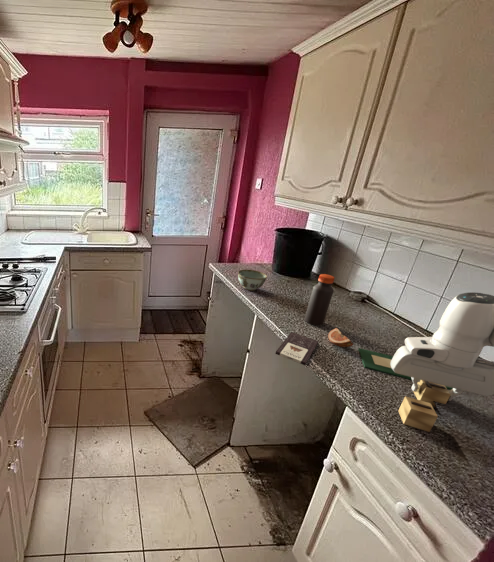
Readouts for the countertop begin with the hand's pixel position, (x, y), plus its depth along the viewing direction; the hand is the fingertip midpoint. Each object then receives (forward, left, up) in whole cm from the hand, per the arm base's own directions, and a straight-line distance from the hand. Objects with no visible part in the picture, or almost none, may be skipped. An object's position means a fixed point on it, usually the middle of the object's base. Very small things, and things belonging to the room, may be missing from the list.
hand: (430, 394), depth 85 cm
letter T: (0, 0, -2) cm, 2 cm away
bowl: (+53, -60, -2) cm, 80 cm away
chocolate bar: (+32, -10, -2) cm, 34 cm away
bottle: (+26, -36, -2) cm, 44 cm away
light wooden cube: (+6, +12, -2) cm, 14 cm away
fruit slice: (+19, -20, -2) cm, 28 cm away
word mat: (+2, -15, -2) cm, 15 cm away
